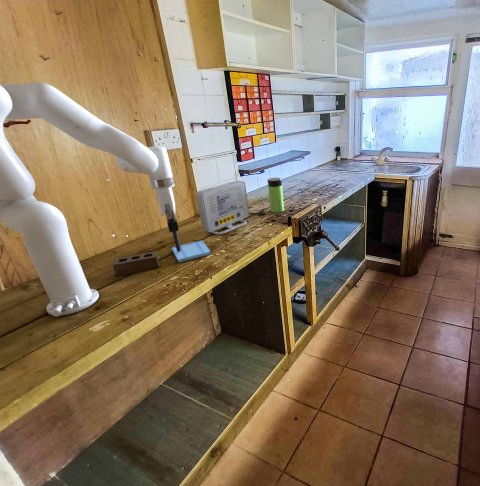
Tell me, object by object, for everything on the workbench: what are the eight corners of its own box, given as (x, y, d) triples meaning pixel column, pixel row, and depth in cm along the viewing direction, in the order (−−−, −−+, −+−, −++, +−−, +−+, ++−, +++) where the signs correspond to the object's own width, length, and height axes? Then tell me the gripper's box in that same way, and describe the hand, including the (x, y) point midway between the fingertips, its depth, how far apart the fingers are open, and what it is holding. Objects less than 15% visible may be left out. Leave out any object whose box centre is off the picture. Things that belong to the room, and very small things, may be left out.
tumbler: (268, 210, 172) (265, 178, 165) (281, 207, 175) (278, 176, 168) (273, 213, 166) (269, 181, 159) (286, 211, 169) (283, 179, 162)
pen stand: (159, 267, 113) (155, 256, 112) (116, 276, 109) (112, 265, 107) (159, 261, 118) (156, 251, 116) (118, 269, 113) (115, 258, 111)
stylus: (181, 252, 123) (173, 216, 116) (177, 253, 122) (168, 217, 116) (181, 251, 124) (173, 215, 118) (177, 252, 123) (168, 216, 117)
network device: (241, 217, 162) (235, 179, 153) (254, 220, 157) (248, 180, 149) (200, 234, 142) (191, 191, 134) (213, 237, 138) (205, 193, 130)
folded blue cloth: (211, 254, 123) (210, 251, 122) (178, 262, 117) (177, 259, 116) (202, 243, 133) (202, 240, 132) (172, 250, 127) (171, 247, 126)
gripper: (151, 179, 117) (163, 225, 124) (149, 188, 104) (162, 239, 111) (173, 177, 119) (184, 222, 127) (174, 186, 106) (185, 235, 114)
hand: (174, 230), depth 119 cm, fingers closed on stylus, 1 cm apart
